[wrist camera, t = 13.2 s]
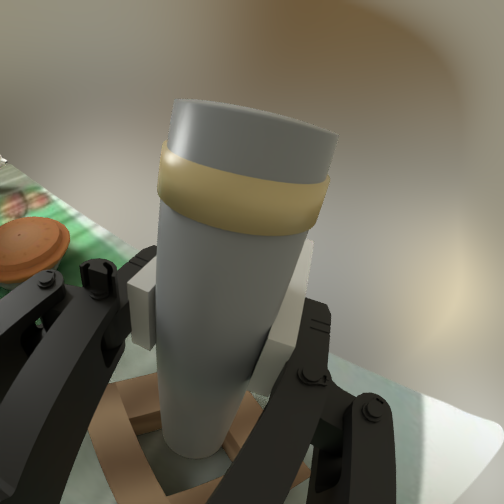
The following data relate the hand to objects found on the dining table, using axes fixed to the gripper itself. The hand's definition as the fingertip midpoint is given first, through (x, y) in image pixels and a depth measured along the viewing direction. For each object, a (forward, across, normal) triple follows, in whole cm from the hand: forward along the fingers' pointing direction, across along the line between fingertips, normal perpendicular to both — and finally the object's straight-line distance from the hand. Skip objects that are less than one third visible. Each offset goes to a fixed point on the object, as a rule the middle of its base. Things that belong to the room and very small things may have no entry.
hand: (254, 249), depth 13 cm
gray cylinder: (-5, 0, -10) cm, 11 cm away
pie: (+5, -31, -17) cm, 36 cm away
